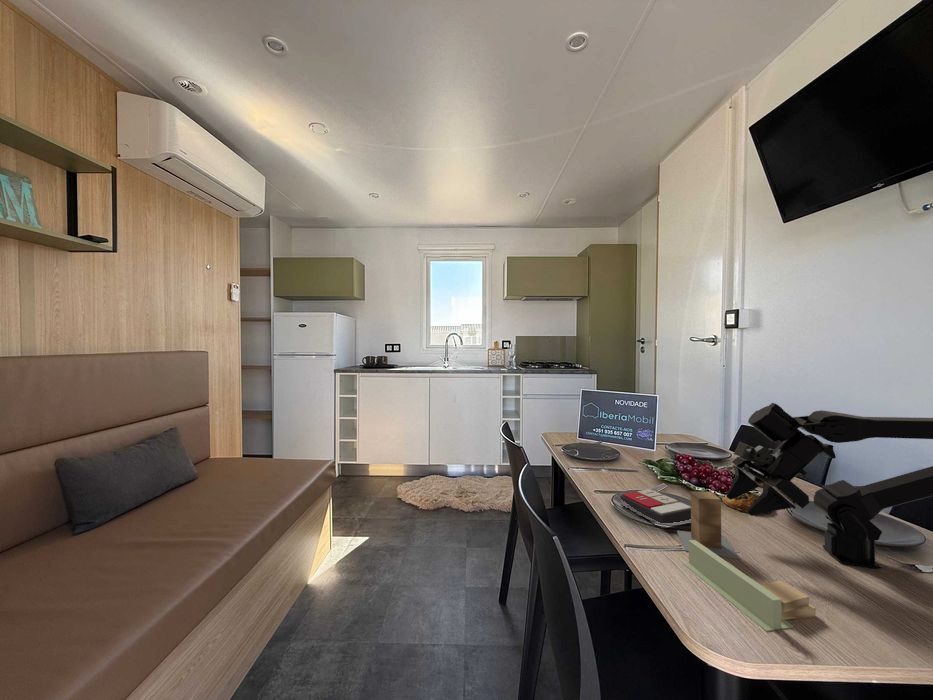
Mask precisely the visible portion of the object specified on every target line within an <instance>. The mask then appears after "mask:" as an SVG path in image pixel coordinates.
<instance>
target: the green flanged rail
mask: <svg viewBox="0 0 933 700" xmlns="http://www.w3.org/2000/svg"><path fill="white" fill-rule="evenodd" d="M683 565H684V566H685V567H686V568H687V569H689V570H690V571H691V572H692V573H694V575H696V576H697V577H698V578H699V579H701V580H702V581H703V582H705V583H706V584H707V585H708V586H709V587H711V588H712V589H713V590H715V591H716V592H717V593H719V595H721V596H722V597H724V599H725V600H727V601H728V602H729V603H731V604H732V606H734V607H736V608H737V610H740V611H741V612H742V613H743V614H744V615H746V617H748V618H749V619H750V620H752V621H753V622H754V623H755V624H757V625H758V627H760V628H761V629H763V630H764V631H765V632H773V631H780V630H781V631H782V630H786V629H792V628H794V625H793V624H791V623H789V622H788V620H787V619H786V620H781V599H780V598H779V597H777V596H776V595H774V594H773V593H771V592H770V591H769V590H767V589H766V588H764V587H763V586H761V585H762V584H760V583H758V582H757V581H756V580H754V579H753V578H751V577H750V576H748V575H747V574H745V573H744V572H742V571H741V570H739V569H738V568H736V566H734V565H732V564H731V563H730V562H728V561H726V560H725V559H724V558H723V557H720V556H718V555H716V554H715V553H713V552H712V551H711V550H709V549H708V548H706V547H705V546H703V545H702V544H700V543H699V542H697V541H696V540H689V552H688V562H686V563H685V562H684V563H683Z"/></svg>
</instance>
